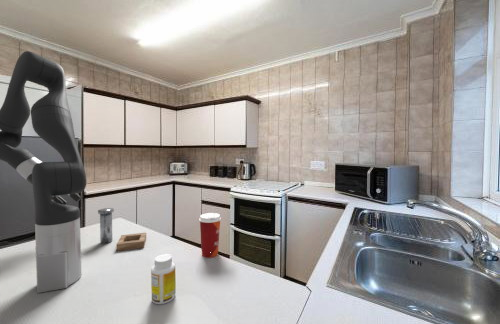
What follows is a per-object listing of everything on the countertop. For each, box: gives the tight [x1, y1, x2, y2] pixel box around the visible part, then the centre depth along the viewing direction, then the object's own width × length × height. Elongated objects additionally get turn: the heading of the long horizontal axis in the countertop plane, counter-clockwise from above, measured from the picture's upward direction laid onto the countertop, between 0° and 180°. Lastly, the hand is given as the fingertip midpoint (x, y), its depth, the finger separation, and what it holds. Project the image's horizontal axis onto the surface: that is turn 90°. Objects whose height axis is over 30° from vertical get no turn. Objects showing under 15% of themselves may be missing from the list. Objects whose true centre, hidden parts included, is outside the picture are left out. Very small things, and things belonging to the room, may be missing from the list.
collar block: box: [115, 232, 147, 252], centre depth 84 cm, size 9×9×2 cm
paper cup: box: [198, 212, 222, 259], centre depth 76 cm, size 8×8×14 cm
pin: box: [97, 207, 115, 245], centre depth 85 cm, size 5×5×13 cm
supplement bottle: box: [150, 253, 177, 305], centre depth 53 cm, size 6×6×10 cm
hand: (72, 202), depth 83 cm, fingers open, 8 cm apart
